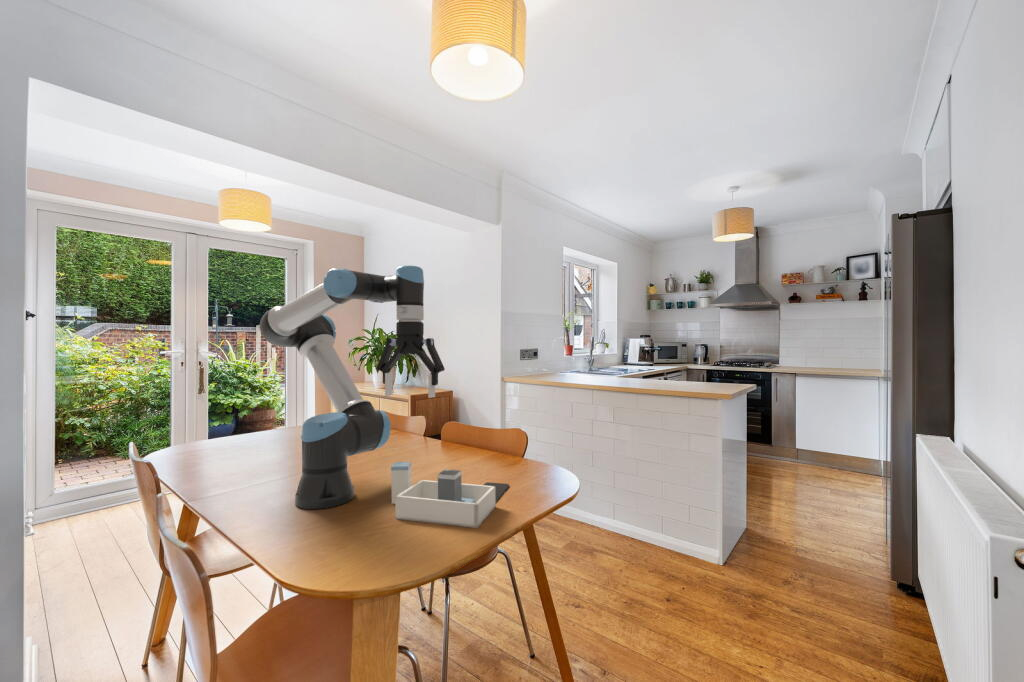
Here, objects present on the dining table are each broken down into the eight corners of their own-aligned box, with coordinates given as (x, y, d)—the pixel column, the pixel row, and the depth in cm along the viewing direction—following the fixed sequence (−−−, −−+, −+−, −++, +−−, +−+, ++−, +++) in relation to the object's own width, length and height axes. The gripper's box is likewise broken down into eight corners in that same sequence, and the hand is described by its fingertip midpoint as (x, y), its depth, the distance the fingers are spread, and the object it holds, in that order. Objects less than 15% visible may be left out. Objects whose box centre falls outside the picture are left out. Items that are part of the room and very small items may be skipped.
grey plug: (437, 514, 110) (437, 474, 110) (445, 507, 114) (445, 469, 114) (454, 516, 109) (454, 475, 109) (461, 509, 113) (461, 470, 113)
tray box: (395, 518, 109) (395, 496, 109) (421, 499, 122) (421, 479, 122) (477, 528, 103) (477, 504, 103) (495, 507, 116) (495, 486, 116)
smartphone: (494, 505, 118) (510, 486, 133) (494, 502, 118) (510, 483, 133) (467, 503, 120) (485, 484, 135) (467, 500, 120) (485, 481, 135)
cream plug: (391, 503, 119) (391, 466, 119) (394, 497, 123) (394, 462, 124) (408, 503, 119) (408, 466, 119) (411, 497, 124) (411, 461, 124)
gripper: (363, 321, 124) (363, 396, 124) (444, 320, 117) (444, 399, 117) (379, 322, 131) (379, 393, 131) (456, 321, 124) (456, 396, 124)
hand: (409, 396), depth 124 cm, fingers open, 13 cm apart
